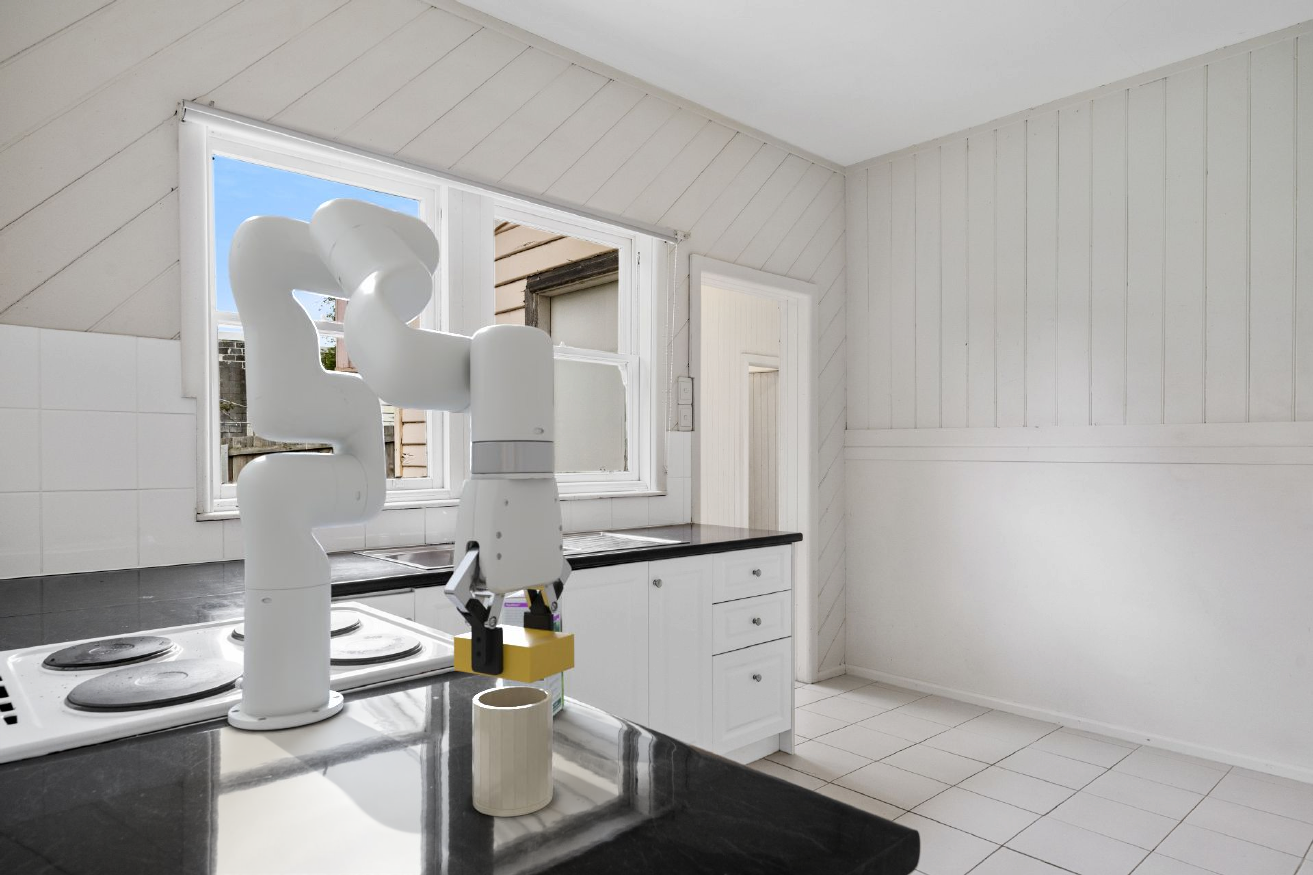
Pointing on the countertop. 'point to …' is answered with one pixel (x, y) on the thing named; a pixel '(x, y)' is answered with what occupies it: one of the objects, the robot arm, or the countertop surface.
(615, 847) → the countertop surface
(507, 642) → the block
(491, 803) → the cup
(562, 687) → the syrup box
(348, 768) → the countertop surface
